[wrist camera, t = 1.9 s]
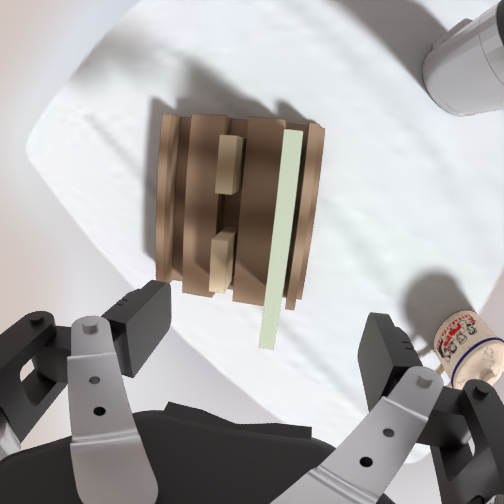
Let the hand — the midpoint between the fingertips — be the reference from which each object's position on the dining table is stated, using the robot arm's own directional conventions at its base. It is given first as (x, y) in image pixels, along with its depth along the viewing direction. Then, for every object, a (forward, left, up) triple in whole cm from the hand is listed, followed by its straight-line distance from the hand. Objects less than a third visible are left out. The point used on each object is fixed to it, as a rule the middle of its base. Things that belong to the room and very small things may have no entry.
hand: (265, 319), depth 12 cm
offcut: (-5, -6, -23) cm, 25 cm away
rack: (0, -6, -25) cm, 26 cm away
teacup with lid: (+15, +27, -25) cm, 40 cm away
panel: (0, 0, -23) cm, 23 cm away
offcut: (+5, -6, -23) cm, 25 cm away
